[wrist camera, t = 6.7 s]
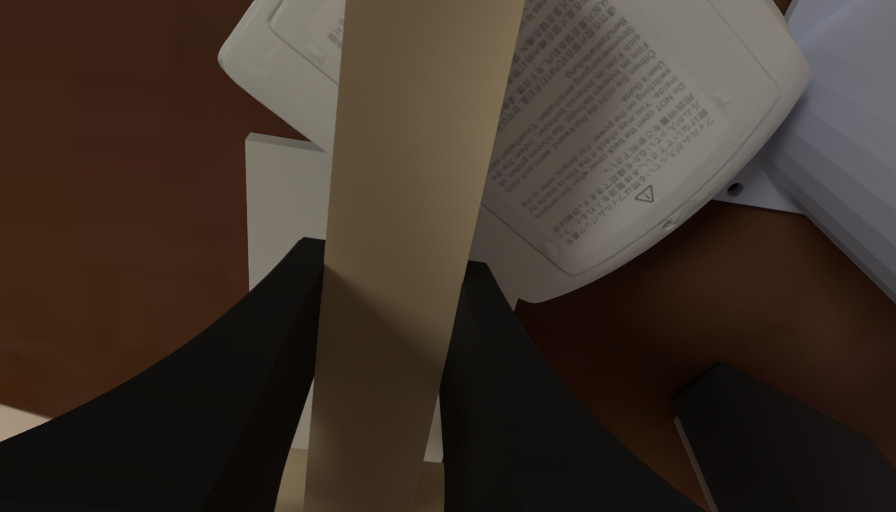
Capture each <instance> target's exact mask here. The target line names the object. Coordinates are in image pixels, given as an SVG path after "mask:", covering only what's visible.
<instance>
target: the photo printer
mask: <svg viewBox="0 0 896 512" xmlns="http://www.w3.org/2000/svg"><path fill="white" fill-rule="evenodd" d="M345 4H346V0H254V1H253V3H252V4H251V6H250V7H249V9H248V10H247V11H246V13H245V14H244V16H243V17H242V19H241V20H240V22H239V23H238V25H237V26H236V27H235V29H234V30H233V32H232V33H231V35H230V36H229V37H228V39H227V40H226V42H225V43H224V44H223V46H222V48H221V49H220V51H219V54H218V61H219V64H220V66H221V67H222V68H223V69H224V70H225V72H226V73H227V74H228V75H229V76H230V77H231V78H232V79H233V80H234V81H235V82H236V83H237V84H238V85H239V86H241V87H242V88H243V89H244V90H246V91H247V92H248V93H249V94H251V95H252V96H253V97H254V98H256V99H257V100H258V101H259V102H261V103H262V104H263V105H265V106H266V107H267V108H269V109H270V110H271V111H273V112H274V113H275V114H277V115H278V116H279V117H281V118H282V119H283V120H284V121H286V122H287V123H288V124H290V125H291V126H292V127H293V128H295V129H296V130H298V131H299V132H300V133H302V134H303V135H304V136H306V137H307V138H308V139H310V140H311V141H312V142H313V143H315V144H316V145H317V146H319V147H320V148H321V149H323V150H324V151H325V152H327V153H328V154H329V155H331V156H332V157H333V147H334V135H335V123H336V111H337V99H338V88H339V76H340V64H341V52H342V40H343V28H344V16H345ZM810 80H811V72H810V69H809V66H808V63H807V61H806V60H805V58H804V56H803V54H802V53H801V51H800V49H799V48H798V46H797V45H796V43H795V42H794V40H793V39H792V38H791V34H790V30H789V28H788V26H787V23H786V21H785V19H784V16H783V15H782V13H781V12H780V10H779V9H778V7H777V6H776V4H775V3H774V1H773V0H525V4H524V9H523V13H522V18H521V22H520V27H519V31H518V36H517V40H516V45H515V49H514V54H513V58H512V63H511V67H510V72H509V76H508V81H507V85H506V90H505V95H504V99H503V104H502V108H501V113H500V117H499V122H498V126H497V131H496V135H495V140H494V144H493V149H492V153H491V158H490V162H489V167H488V171H487V176H486V180H485V185H484V190H483V194H482V199H481V203H480V208H479V212H478V217H477V221H476V226H475V230H474V235H473V239H472V244H471V248H470V253H469V257H468V260H472V261H479V262H486V264H487V265H488V266H489V268H490V270H491V272H492V273H493V275H494V277H495V279H496V281H497V283H498V285H499V286H501V287H502V288H503V289H505V290H506V291H507V292H509V293H510V294H512V295H514V296H516V297H518V298H520V299H522V300H524V301H527V302H530V303H540V302H543V301H546V300H549V299H552V298H555V297H558V296H561V295H563V294H566V293H569V292H571V291H574V290H576V289H578V288H580V287H582V286H585V285H587V284H589V283H591V282H593V281H595V280H597V279H599V278H601V277H603V276H605V275H606V274H608V273H610V272H612V271H614V270H615V269H617V268H619V267H620V266H622V265H624V264H626V263H627V262H629V261H630V260H632V259H634V258H635V257H637V256H638V255H640V254H641V253H643V252H644V251H646V250H647V249H649V248H650V247H652V246H653V245H655V244H656V243H657V242H659V241H660V240H662V239H663V238H664V237H666V236H667V235H668V234H670V233H671V232H672V231H674V230H675V229H676V228H678V227H679V226H680V225H681V224H683V223H684V222H685V221H686V220H688V219H689V218H690V217H691V216H692V215H694V214H695V213H696V212H697V211H698V210H700V209H701V208H702V207H703V206H704V205H705V204H706V203H708V202H709V201H710V200H711V199H712V198H713V197H714V196H715V195H716V194H717V193H718V192H720V191H721V190H722V189H723V188H724V187H725V186H726V185H727V184H728V183H729V182H730V181H731V180H732V179H733V178H734V177H735V176H736V175H737V174H738V173H739V172H740V171H741V170H742V169H743V168H744V166H745V165H746V164H747V163H748V162H749V161H750V160H751V159H752V158H753V157H754V156H755V155H756V154H757V152H758V151H759V150H760V149H761V148H762V147H763V146H764V144H765V143H766V142H767V141H768V140H769V138H770V137H771V136H772V135H773V134H774V132H775V131H776V130H777V129H778V127H779V126H780V125H781V123H782V122H783V121H784V120H785V118H786V117H787V115H788V114H789V113H790V111H791V110H792V108H793V107H794V105H795V104H796V102H797V101H798V99H799V98H800V97H801V95H802V93H803V92H804V90H805V89H806V87H807V86H808V84H809V83H810Z"/></svg>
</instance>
